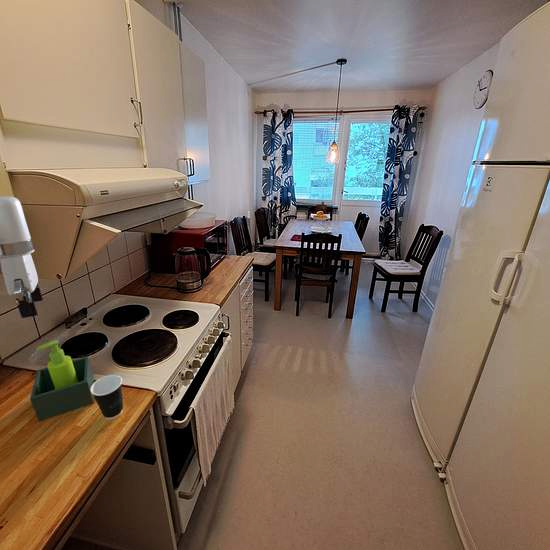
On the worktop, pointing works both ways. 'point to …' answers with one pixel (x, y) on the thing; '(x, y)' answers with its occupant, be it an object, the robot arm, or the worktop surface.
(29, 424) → the worktop surface
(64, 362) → the soap dispenser
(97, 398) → the dixie cup
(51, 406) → the bin
